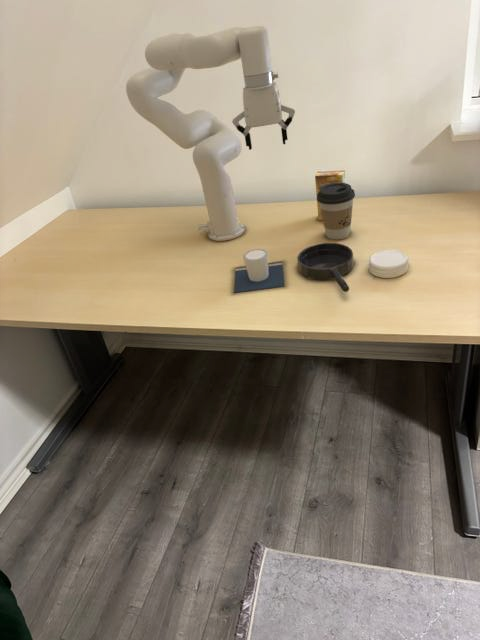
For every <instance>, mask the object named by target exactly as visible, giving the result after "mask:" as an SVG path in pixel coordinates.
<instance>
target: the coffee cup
mask: <svg viewBox="0 0 480 640" xmlns="http://www.w3.org/2000/svg"><path fill="white" fill-rule="evenodd" d="M355 197H356V193H355V190H354V189H353V188H352V186H351V185H350V184H349V183H347V182H345V183H331V184H327V185H325V186H323V187H321V188H320V190H319V193H318V194H317V195H316V202H317V201H318V202H319V205H320V209H321V214H322V219H323V220H322V222H323V228H324V232H325V233H324V234H325V235H326V238H328V239H329V240H336V241H337V240H344V239H346V238H348V237H349V236H350V233H351V226H352V217H353V205H354V198H355Z"/></svg>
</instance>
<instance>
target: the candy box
mask: <svg viewBox="0 0 480 640" xmlns="http://www.w3.org/2000/svg"><path fill="white" fill-rule="evenodd" d="M314 178H315V179H314V181H315V192H316V193H315V195H316V196H317V194H318V193H319V190H320V188H321V187H323V186H325V185H327V184H331V183H346V171H345V170H329V171H328V170H327V171H317V172H316V173H315V175H314ZM316 203H317V204H316V207H317V218H318V219H317V220H318V221H323V219H322V214H321V209H320V205H319V202H318V201H317V200H316Z"/></svg>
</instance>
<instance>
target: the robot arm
mask: <svg viewBox="0 0 480 640" xmlns="http://www.w3.org/2000/svg"><path fill="white" fill-rule="evenodd" d="M144 57H145V61H146V63H147V65H149V66H150V67H148V68H145V69H142V70H140V71H137V72H136V73H134V74H132V75H131V76H130V77H129V78H128V80H127V81H126V86H125V93H126V96H127V99H128V101H129V104H130V105H131V107H132V108H133V110H134V111H135V112H136V113H137V114H138V115H139V116H140V117H141V118H143V119H144V120H146V121H147V122H149V123H150V124H151V125H153V126H154V127H156V128H157V129H158V130H160V132H161V133H163V134H164V135H165V136H167V137H168V138H169V139H170V140H171V141H172V142H173V143H174V144H176V145H177V146H178V147H180V148H182V149H184V150H189V149H193V150H192V160H193V164H194V166H195V169H196V171H197V173H198V176H199V179H200V183H201V187H202V192H203V196H204V201H205V205H206V211H207V215H208V219H209V221H208V222H206V223H200V224H198V225H197V228H198V231H200V232H201V233H205V232H207V237H208V238H209V239H210V240H211V241H218V242H225V241H230V240H235V239H236V238H238V237H240V236H242V235H243V234H244V232H245V231H246V230H245V225H244V224H243V223H241V222H239V221H240V220H239V216H238V211H237V205H236V200H235V199H236V198H235V195H234V188H233V183H232V179H231V176H230V174H229V173H228V172H227V170H226V169H225V165H227V164H229V163H230V162H232V161H234V160H235V159H237V158H238V157H239V156H240V154H241V152H242V148H243V147H242V142H241V139H240V137H239V136H238V134H237V132H235V131H234V130H232V129H231V128H230V127H229V126H228V125H227V124H225V123H224V122H223V121H222V120H221V119H219V118H218V117H217V116H216V115H215V114H214V113H212V112H210V111H207V110H205V109H198V110H195V111H192V112H190V113H184V112H183V111H181V110H180V109H178V108H177V107H176V106H175V105H174V104H172V103H170V102H169V101H166V100H163V99H161V97H162V96H164V95H167V94H170V93H172V92H173V91H175V89H176V88H177V87H178V85H179V83H180V81H181V79H182V76H183V74H184V73H185V71H186V69H192V70H203V69H204V70H205V69H213V68H219V67H222V66H224V65H227V64H229V63H233V62H236V61H239V60H240V62H241V67H242V74H243V82H244V87H243V88H242V104H243V105H242V106H243V111H242V112H240V113H239V114H238V115H236V116H235V117H233V119H232V121H231V122H232V124H233V126H234V127H235V128H236V130H237V131H238V132H240V133H241V134H242V135H243V137H244V139H245V146H246V147H248V150H249V151H251V150H252V149H253V146H252V138H251V132H250V130H252V129H253V128H258V127H259V128H261V127H266V126H273V125H279V126H280V128H281V129H280V130H281V138H282V144H283V145H286V141H288V130H287V129H288V127H289V126H290V125H291V123H292V122H293V119H294V116H295V114H296V110H295V108H292V107H289V106H286V105H283V104H281V98H280V92H279V88H278V84H277V82H276V81H275V80H276V79H279V72H277V71H276V72H274V71H273V68H272V67H273V66H272V60H271V59H272V57H271V51H270V42H269V34H268V29H267V28H266V26H264V25H254V26H253V25H252V26H249V27H235V26H234V27H231V28H227V29H223V30H220V31H217V32H214V33H211V34H206V35H200V36H195V35H193V34H192V33H189V32H187V33H171V34H167V35H163V36H160V37H157V38H154V39H152V40H151V41H150V42H149V43H148V44H147V45H146V47H145V51H144ZM283 112H284V113H287V114H288V116H287V118H286V119H285V120H284V119H283ZM243 119H244V122H245V127H244V126H243V125H241V124H240V121H242V120H243Z"/></svg>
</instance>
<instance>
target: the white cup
mask: <svg viewBox="0 0 480 640" xmlns="http://www.w3.org/2000/svg"><path fill="white" fill-rule="evenodd" d="M242 259H243V261H244V264H245V266H246V269H247V272H248V276H249V279H250V280H252V281H262V280H265V279H267V277H268V276H269V271H268V263H269V253H268V251H267V250H266V249H262V248H254V249H251V250H247V251H246V252H245V253H244V254H243V255H242Z"/></svg>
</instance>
